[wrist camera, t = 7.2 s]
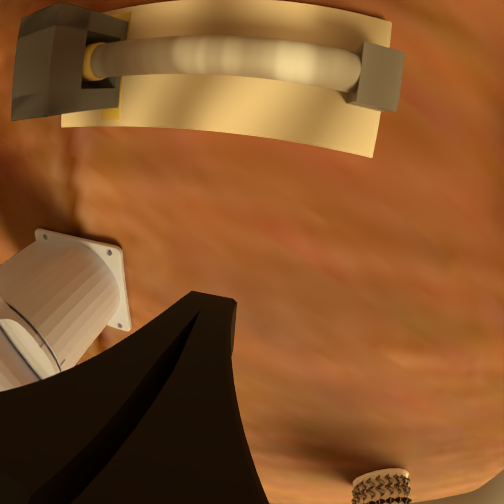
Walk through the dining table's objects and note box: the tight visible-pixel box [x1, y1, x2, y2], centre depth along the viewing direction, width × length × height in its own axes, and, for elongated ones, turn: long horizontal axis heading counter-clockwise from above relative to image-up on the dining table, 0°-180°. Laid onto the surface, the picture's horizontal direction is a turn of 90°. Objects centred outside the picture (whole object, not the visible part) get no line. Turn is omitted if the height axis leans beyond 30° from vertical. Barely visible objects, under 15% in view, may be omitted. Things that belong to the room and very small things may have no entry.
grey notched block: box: [11, 2, 128, 121], centre depth 12 cm, size 3×6×6 cm, turn 173°
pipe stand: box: [61, 0, 405, 158], centre depth 13 cm, size 20×8×4 cm, turn 83°
